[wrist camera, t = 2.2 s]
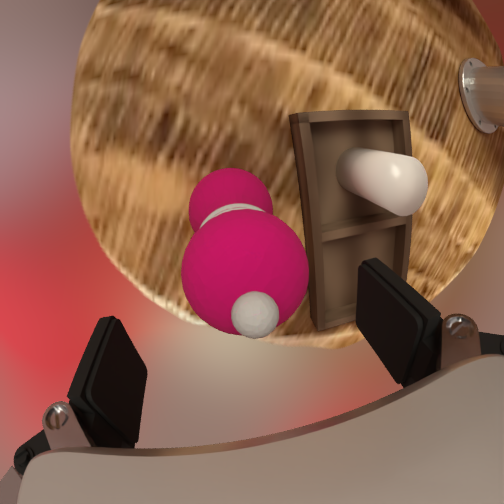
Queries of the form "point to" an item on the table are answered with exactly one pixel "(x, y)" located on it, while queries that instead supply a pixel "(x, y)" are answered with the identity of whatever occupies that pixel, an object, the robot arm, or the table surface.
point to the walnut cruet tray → (346, 207)
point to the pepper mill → (241, 257)
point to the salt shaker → (383, 179)
